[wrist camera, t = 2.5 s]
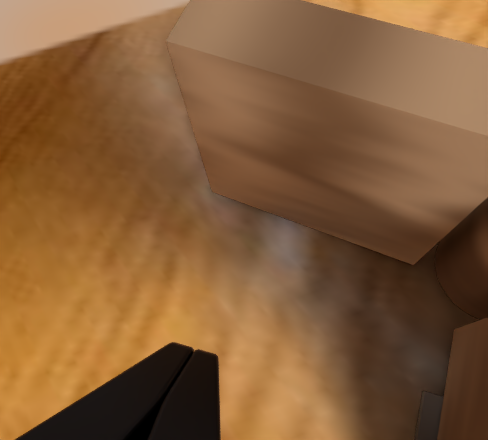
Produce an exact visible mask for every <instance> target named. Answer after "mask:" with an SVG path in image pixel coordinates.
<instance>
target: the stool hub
mask: <svg viewBox="0 0 488 440" xmlns="http://www.w3.org/2000/svg"><path fill="white" fill-rule="evenodd" d="M435 269H436V273H437V277H438V280H439V283H440V285H441V287H442V288H443V290H444V292H445V293H446V295H447V296H448V297H449V298H450V299H451V301H452V302H453V303H454V304H455V305H457V306H458V307H459V308H460V309H462V310H463V311H464V312H466V313H468V314H469V315H471V316H473V317H475V318H478V319H481V320H479V321H476V322H473V323H470V324H467V325H465V326H462V327H459V328H456V329H454V333H453V340H452V346H451V353H450V359H449V366H448V372H447V379H446V385H445V392H444V397H442V396H439V395H436V394H432V393H429V392H426V391H423V392H422V398H421V404H420V410H419V416H418V421H417V427H416V433H415V439H414V440H488V197H487V198H486V199H485V200H484V201H483V202H482V203H481V204H480V205H478V206H477V207H476V208H475V209H474V210H473V211H472V212H471V213H470V214H469V215H468V216H466V217H465V218H464V219H463V220H462V221H461V222H460V223H459V224H458V225H457V226H456V227H454V228H453V229H452V230H451V231H450V232H449V233H448V234H447V235H446V236H445V237H444V238H442V239H441V240H440V242H439V244H438V247H437V250H436V255H435Z"/></svg>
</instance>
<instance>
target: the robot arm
mask: <svg viewBox="0 0 488 440" xmlns="http://www.w3.org/2000/svg"><path fill="white" fill-rule="evenodd" d="M15 440H221V435H220V398H219V361H218V356H217V355H216V354H213V353H210V352H206V351H203V350H199V349H198V350H195V351H194V349H193V348H192V347H189V346H186V345H182V344H179V343H175V342H172V343H169V344H167V345H166V346H164V347H163V348H161V349H159V350H158V351H156V352H155V353H153V354H151V355H150V356H148V357H147V358H145V359H143V360H142V361H140V362H139V363H137V364H135V365H134V366H132V367H131V368H129V369H127V370H126V371H124V372H123V373H121V374H119V375H118V376H116V377H115V378H113V379H111V380H110V381H108V382H107V383H105V384H103V385H102V386H100V387H99V388H97V389H95V390H94V391H92V392H90V393H89V394H87V395H86V396H84V397H82V398H81V399H79V400H78V401H76V402H74V403H73V404H71V405H70V406H68V407H66V408H65V409H63V410H62V411H60V412H58V413H57V414H55V415H54V416H52V417H50V418H49V419H47V420H46V421H44V422H42V423H41V424H39V425H38V426H36V427H34V428H33V429H31V430H30V431H28V432H26V433H25V434H23V435H22V436H20V437H18V438H17V439H15Z"/></svg>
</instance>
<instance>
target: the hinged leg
mask: <svg viewBox="0 0 488 440" xmlns="http://www.w3.org/2000/svg"><path fill="white" fill-rule="evenodd" d="M166 44H167V47H168V50H169V54H170V57H171V60H172V63H173V67H174V70H175V73H176V76H177V80H178V83H179V86H180V89H181V93H182V96H183V99H184V102H185V106H186V109H187V112H188V115H189V118H190V122H191V125H192V128H193V131H194V135H195V138H196V141H197V144H198V148H199V151H200V154H201V157H202V161H203V164H204V167H205V170H206V174H207V177H208V180H209V183H210V187H211V190H212V192H214V193H217V194H220V195H222V196H225V197H228V198H231V199H233V200H236V201H239V202H242V203H244V204H247V205H250V206H253V207H255V208H258V209H261V210H264V211H266V212H269V213H272V214H275V215H277V216H280V217H283V218H286V219H288V220H291V221H294V222H296V223H299V224H302V225H305V226H307V227H310V228H313V229H316V230H318V231H321V232H324V233H327V234H329V235H332V236H335V237H338V238H340V239H343V240H346V241H349V242H351V243H354V244H357V245H360V246H362V247H365V248H368V249H371V250H373V251H376V252H379V253H382V254H384V255H387V256H390V257H393V258H395V259H398V260H401V261H404V262H406V263H409V264H412V265H414V264H415V263H416V262H417V261H418V260H420V259H421V258H422V257H423V256H424V255H425V254H426V253H427V252H428V251H429V250H430V249H432V248H433V247H434V246H435V245H436V244H437V243H438V242H439V241H440V240H441V239H442V238H444V237H445V236H446V235H447V234H448V233H449V232H450V231H451V230H452V229H453V228H454V227H456V226H457V225H458V224H459V223H460V222H461V221H462V220H463V219H464V218H465V217H466V216H468V215H469V214H470V213H471V212H472V211H473V210H474V209H475V208H476V207H477V206H478V205H480V204H481V203H482V202H483V201H484V200H485V199H486V198H487V197H488V48H485V47H481V46H477V45H473V44H469V43H465V42H461V41H457V40H453V39H450V38H446V37H442V36H438V35H434V34H430V33H426V32H422V31H418V30H414V29H411V28H407V27H403V26H399V25H395V24H391V23H387V22H383V21H379V20H376V19H372V18H368V17H364V16H360V15H356V14H352V13H348V12H344V11H341V10H337V9H333V8H329V7H325V6H321V5H317V4H313V3H309V2H306V1H302V0H190V1H189V3H188V5H187V6H186V8H185V10H184V11H183V13H182V15H181V16H180V18H179V19H178V21H177V23H176V24H175V26H174V28H173V29H172V31H171V33H170V34H169V36H168V38H167V39H166Z"/></svg>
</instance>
